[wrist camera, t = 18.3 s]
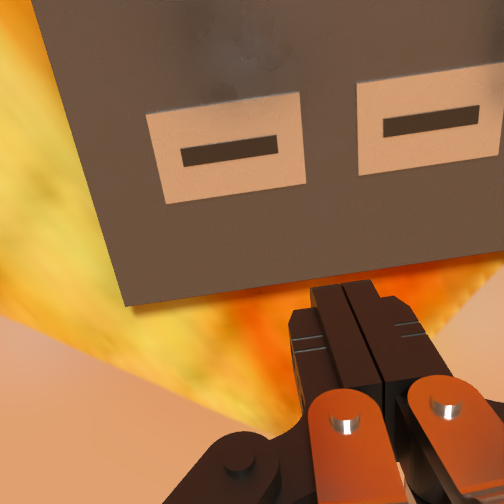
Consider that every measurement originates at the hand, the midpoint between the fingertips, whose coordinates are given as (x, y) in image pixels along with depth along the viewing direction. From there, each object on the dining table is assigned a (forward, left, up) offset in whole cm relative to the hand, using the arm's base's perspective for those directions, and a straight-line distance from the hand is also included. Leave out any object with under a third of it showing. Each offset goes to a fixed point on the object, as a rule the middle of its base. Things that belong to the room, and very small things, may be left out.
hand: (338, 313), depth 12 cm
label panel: (+4, 0, -17) cm, 18 cm away
